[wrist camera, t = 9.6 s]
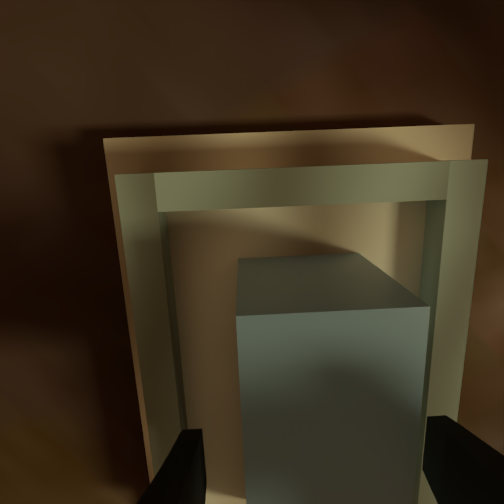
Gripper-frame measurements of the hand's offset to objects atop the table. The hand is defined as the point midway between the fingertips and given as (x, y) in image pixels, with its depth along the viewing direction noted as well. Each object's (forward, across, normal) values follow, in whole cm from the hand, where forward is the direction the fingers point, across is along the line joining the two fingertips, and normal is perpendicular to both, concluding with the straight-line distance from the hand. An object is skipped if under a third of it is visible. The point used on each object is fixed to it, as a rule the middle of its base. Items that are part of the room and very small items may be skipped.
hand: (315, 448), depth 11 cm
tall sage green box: (+3, 0, 0) cm, 3 cm away
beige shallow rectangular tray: (+6, 0, 0) cm, 6 cm away
